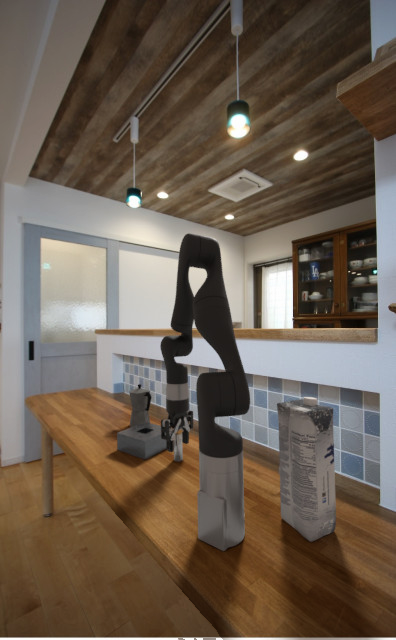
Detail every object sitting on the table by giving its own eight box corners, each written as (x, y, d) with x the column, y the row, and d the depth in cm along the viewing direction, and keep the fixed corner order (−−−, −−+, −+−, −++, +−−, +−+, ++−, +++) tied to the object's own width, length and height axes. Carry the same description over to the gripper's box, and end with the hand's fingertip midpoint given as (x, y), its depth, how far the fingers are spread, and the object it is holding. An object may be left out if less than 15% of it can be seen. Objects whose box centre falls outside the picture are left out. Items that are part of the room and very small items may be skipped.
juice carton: (311, 548, 56) (307, 406, 57) (274, 517, 65) (271, 396, 66) (343, 533, 60) (338, 401, 60) (304, 505, 69) (301, 391, 70)
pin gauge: (179, 462, 93) (178, 430, 93) (172, 460, 94) (171, 429, 95) (184, 459, 95) (184, 428, 95) (177, 456, 97) (177, 426, 97)
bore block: (145, 459, 95) (145, 441, 95) (117, 449, 103) (117, 432, 103) (173, 445, 106) (172, 428, 107) (145, 437, 114) (145, 422, 115)
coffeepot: (123, 424, 131) (122, 383, 132) (141, 419, 138) (140, 381, 138) (141, 432, 120) (140, 388, 120) (160, 427, 126) (159, 385, 127)
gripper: (171, 402, 87) (172, 458, 87) (199, 393, 99) (200, 442, 98) (153, 399, 92) (154, 452, 91) (182, 391, 103) (182, 437, 103)
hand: (178, 447), depth 95 cm, fingers open, 7 cm apart
